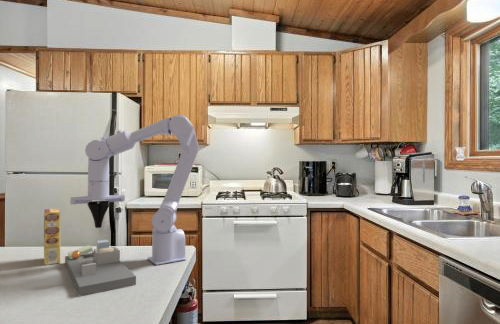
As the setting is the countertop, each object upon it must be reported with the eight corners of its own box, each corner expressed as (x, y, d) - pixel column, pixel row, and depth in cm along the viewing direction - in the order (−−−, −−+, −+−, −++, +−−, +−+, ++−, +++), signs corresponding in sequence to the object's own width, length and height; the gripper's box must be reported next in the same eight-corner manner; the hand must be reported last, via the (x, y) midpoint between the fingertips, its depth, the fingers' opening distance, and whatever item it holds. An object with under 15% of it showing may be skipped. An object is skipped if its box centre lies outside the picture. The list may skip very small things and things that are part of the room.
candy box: (60, 263, 94) (61, 211, 94) (43, 265, 91) (44, 212, 92) (59, 256, 101) (59, 208, 101) (43, 258, 99) (43, 209, 99)
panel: (108, 256, 101) (108, 240, 101) (135, 284, 76) (136, 263, 77) (64, 263, 94) (65, 246, 94) (79, 296, 70) (79, 273, 70)
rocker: (90, 247, 97) (89, 244, 97) (92, 250, 93) (91, 247, 93) (68, 256, 93) (67, 252, 93) (70, 259, 90) (69, 256, 90)
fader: (106, 251, 99) (106, 239, 99) (109, 253, 96) (109, 241, 96) (96, 252, 97) (96, 240, 97) (98, 255, 94) (98, 243, 94)
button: (112, 256, 92) (112, 246, 92) (115, 259, 89) (115, 249, 89) (97, 258, 90) (97, 248, 90) (100, 262, 87) (100, 251, 87)
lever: (91, 265, 81) (76, 247, 79) (93, 268, 79) (78, 250, 77) (83, 270, 80) (69, 253, 78) (85, 273, 78) (70, 255, 76)
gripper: (120, 180, 102) (120, 223, 102) (69, 181, 94) (68, 227, 94) (126, 181, 97) (126, 226, 96) (72, 182, 88) (71, 231, 88)
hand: (98, 227), depth 95 cm, fingers closed
